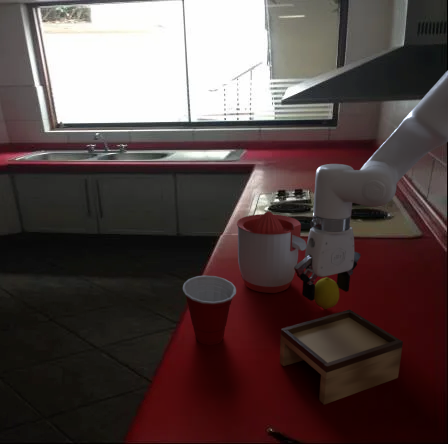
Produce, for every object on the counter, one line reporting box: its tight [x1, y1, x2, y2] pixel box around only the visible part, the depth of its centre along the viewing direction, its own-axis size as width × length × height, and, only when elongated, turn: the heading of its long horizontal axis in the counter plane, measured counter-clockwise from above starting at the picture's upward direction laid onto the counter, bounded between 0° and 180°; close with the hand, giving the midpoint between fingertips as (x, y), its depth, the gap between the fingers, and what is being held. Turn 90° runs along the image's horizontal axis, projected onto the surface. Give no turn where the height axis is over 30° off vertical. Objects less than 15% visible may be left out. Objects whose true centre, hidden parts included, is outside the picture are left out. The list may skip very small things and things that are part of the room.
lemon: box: [313, 276, 340, 310], centre depth 95 cm, size 6×6×8 cm
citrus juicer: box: [236, 210, 307, 294], centre depth 106 cm, size 16×17×20 cm
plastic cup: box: [182, 275, 237, 346], centre depth 86 cm, size 11×11×12 cm
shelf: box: [279, 309, 404, 405], centre depth 75 cm, size 16×12×7 cm
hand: (325, 293), depth 95 cm, fingers open, 9 cm apart
